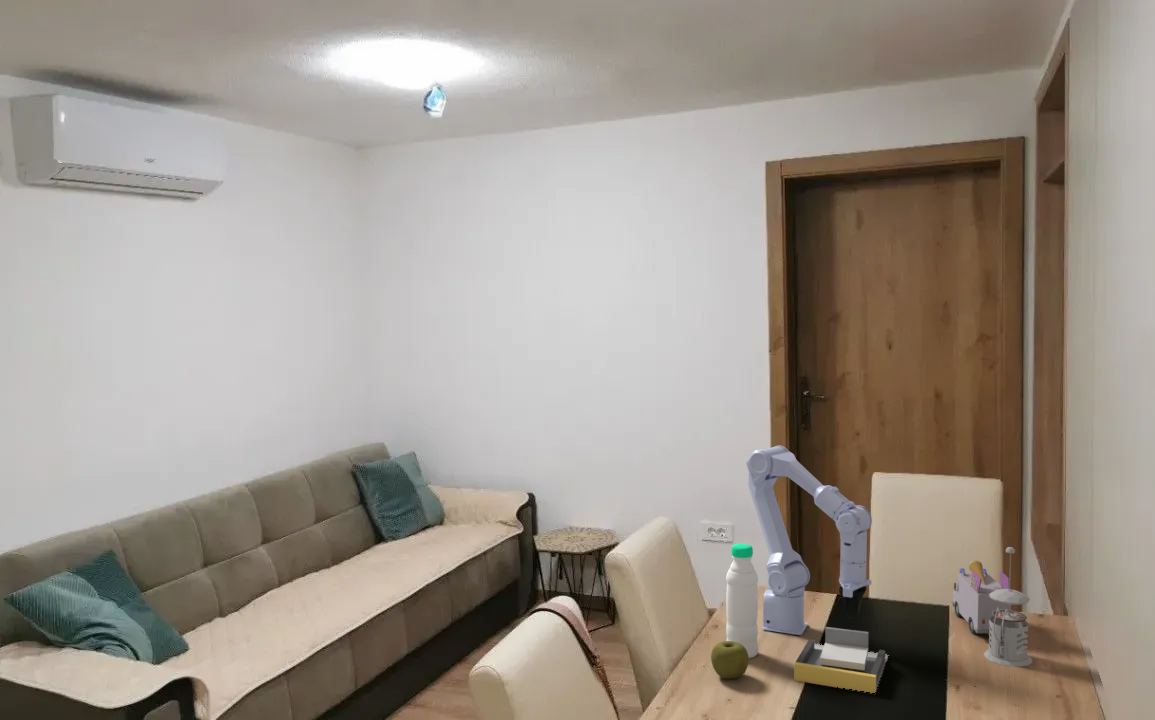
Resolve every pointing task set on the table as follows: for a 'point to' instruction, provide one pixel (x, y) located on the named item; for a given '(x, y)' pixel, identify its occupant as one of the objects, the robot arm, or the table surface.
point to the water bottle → (742, 599)
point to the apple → (729, 659)
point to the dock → (838, 670)
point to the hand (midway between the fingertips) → (852, 618)
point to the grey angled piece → (845, 649)
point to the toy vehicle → (977, 597)
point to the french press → (1008, 628)
